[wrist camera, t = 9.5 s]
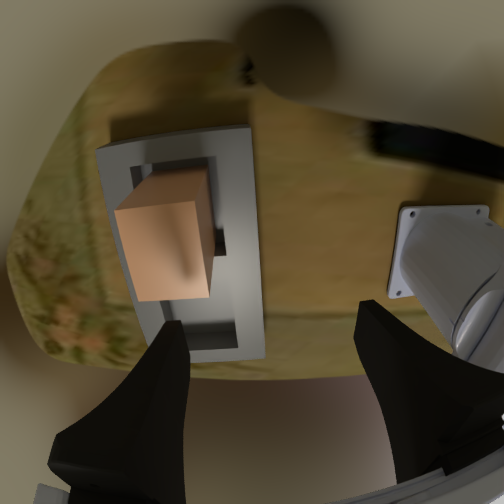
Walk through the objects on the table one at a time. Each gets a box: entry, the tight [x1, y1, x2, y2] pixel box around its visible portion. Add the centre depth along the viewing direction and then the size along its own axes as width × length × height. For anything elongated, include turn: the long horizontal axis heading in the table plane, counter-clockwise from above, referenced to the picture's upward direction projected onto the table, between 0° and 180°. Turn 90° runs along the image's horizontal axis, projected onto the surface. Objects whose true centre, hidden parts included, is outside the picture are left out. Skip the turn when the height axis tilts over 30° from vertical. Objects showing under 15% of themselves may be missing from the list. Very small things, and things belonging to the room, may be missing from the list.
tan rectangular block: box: [114, 165, 216, 302], centre depth 17 cm, size 4×5×7 cm
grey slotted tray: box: [95, 124, 265, 363], centre depth 21 cm, size 9×17×3 cm, turn 4°
